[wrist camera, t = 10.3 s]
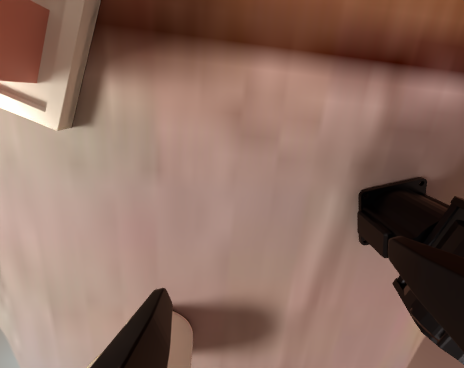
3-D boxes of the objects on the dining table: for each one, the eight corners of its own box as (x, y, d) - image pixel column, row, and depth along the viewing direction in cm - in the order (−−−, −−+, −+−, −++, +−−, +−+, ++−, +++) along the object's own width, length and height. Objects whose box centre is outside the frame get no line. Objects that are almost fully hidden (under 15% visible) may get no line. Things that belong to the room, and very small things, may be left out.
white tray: (102, -6, 16) (88, -19, 14) (71, 127, 19) (57, 130, 17) (-68, -99, 14) (-108, -126, 12) (-72, 68, 17) (-104, 65, 15)
